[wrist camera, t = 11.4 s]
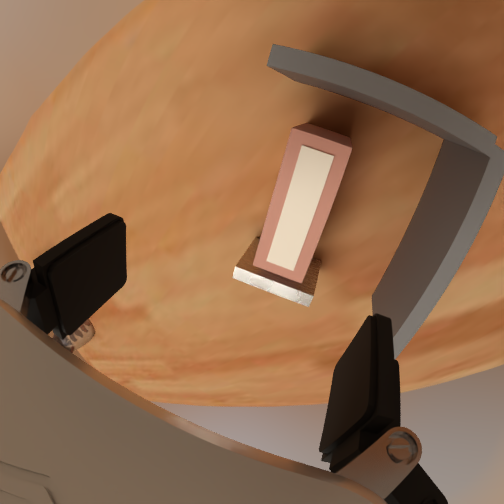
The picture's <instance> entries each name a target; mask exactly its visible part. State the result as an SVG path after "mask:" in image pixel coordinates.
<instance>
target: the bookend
mask: <svg viewBox="0 0 504 504" xmlns="http://www.w3.org/2000/svg"><path fill="white" fill-rule="evenodd" d="M259 241H260V238H257V237H256V238H255V239H254V241H253V242H252V243H251V245H250V246H249V248H248V249H247V251H246V252H245V253H244V255H243V256H242V258H241V259H240V260H239V262H238V263H237V265H236V266H235V270H234V274H233V278H234V279H237V280H240V281H242V282H245V283H247V284H250V285H252V286H255V287H257V288H260V289H263V290H265V291H268V292H270V293H273V294H276V295H278V296H281V297H284V298H286V299H289V300H291V301H294V302H297V303H299V304H302V305H305V306H307V307H309V305H310V303H311V301H312V299H313V296H314V292H315V288H316V283H317V278H318V274H319V269H320V264H321V261H319V260H316V259H314V258H312V259H311V262H310V264H309V267H308V269H307V272H306V274H305V276H304V279H303V281H302V283H299V282H296V281H294V280H291V279H288V278H286V277H283V276H280V275H278V274H275V273H272V272H270V271H267V270H264V269H262V268H259V267H256V266H254V265H253V262H254V259H255V255H256V252H257V248H258V245H259Z"/></svg>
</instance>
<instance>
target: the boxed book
mask: <svg viewBox="0 0 504 504" xmlns="http://www.w3.org/2000/svg"><path fill="white" fill-rule="evenodd" d="M351 151H352V144H351V139H350V137H347V136H344V135H342V134H339V133H336V132H333V131H330V130H327V129H324V128H321V127H318V126H315V125H312V124H309V123H305V124H302V125H299V126H296V127H293V128H292V129H291V132H290V136H289V140H288V143H287V147H286V150H285V154H284V157H283V161H282V164H281V168H280V171H279V175H278V178H277V182H276V185H275V189H274V192H273V196H272V199H271V203H270V206H269V210H268V213H267V217H266V220H265V224H264V227H263V231H262V234H261V238H260V241H259V245H258V248H257V252H256V255H255V259H254V262H253V265H254V266H256V267H259V268H262V269H264V270H267V271H270V272H272V273H275V274H278V275H280V276H283V277H286V278H288V279H291V280H294V281H296V282H299V283H302V281H303V279H304V276H305V274H306V272H307V269H308V267H309V264H310V262H311V259H312V257H313V254H314V252H315V249H316V247H317V244H318V242H319V239H320V236H321V234H322V231H323V229H324V226H325V223H326V221H327V218H328V216H329V213H330V210H331V208H332V205H333V202H334V199H335V197H336V194H337V191H338V188H339V186H340V183H341V180H342V177H343V174H344V171H345V169H346V166H347V163H348V160H349V157H350V154H351Z"/></svg>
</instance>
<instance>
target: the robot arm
mask: <svg viewBox="0 0 504 504" xmlns="http://www.w3.org/2000/svg"><path fill="white" fill-rule="evenodd" d="M33 263H34V268H33V269H31V267H30V265H29V264H28V263H27V262H25V261H21V260H17V261H12V262H9V263H7V264H6V265H4V266H3V267H2V268H1V269H0V504H448V502H447V500H446V498H445V496H444V495H443V494H442V492H441V491H440V490H439V489H438V487H437V486H436V485H435V484H434V483H433V481H432V480H431V479H430V477H429V476H428V475H427V473H426V472H425V471H424V470H423V468H422V467H421V466H420V465H419V463H418V462H419V460H420V458H421V454H422V446H421V443H420V440H419V438H418V437H417V435H416V434H415V433H414V432H412V431H411V430H409V429H407V428H405V427H400V376H399V364H398V361H397V360H395V359H394V344H393V331H392V321H391V318H389V317H386V316H383V315H380V314H378V313H375V314H374V315H373V316H370V315H369V316H368V317H367V318H366V320H365V321H364V323H363V325H362V326H361V328H360V329H359V331H358V333H357V334H356V336H355V337H354V339H353V340H352V342H351V343H350V345H349V346H348V348H347V349H346V351H345V352H344V354H343V355H342V357H341V358H340V360H339V361H338V363H337V364H336V366H335V369H334V373H333V379H332V385H331V391H330V397H329V402H328V409H327V413H326V418H325V423H324V429H323V433H322V438H321V442H320V447H319V451H320V452H322V453H323V455H322V461H324V462H329V463H330V468H329V469H330V470H331V472H329V471H326V470H322V469H319V468H316V467H313V466H309V465H306V464H303V463H299V462H296V461H292V460H289V459H286V458H283V457H279V456H277V455H274V454H271V453H268V452H265V451H262V450H259V449H256V448H253V447H251V446H248V445H245V444H242V443H240V442H237V441H235V440H232V439H229V438H227V437H224V436H222V435H219V434H217V433H215V432H212V431H210V430H207V429H205V428H203V427H201V426H198V425H196V424H194V423H192V422H190V421H187V420H185V419H183V418H181V417H179V416H177V415H175V414H173V413H171V412H169V411H167V410H165V409H163V408H161V407H159V406H157V405H155V404H153V403H151V402H150V401H148V400H146V399H144V398H142V397H141V396H139V395H137V394H135V393H133V392H132V391H130V390H128V389H127V388H125V387H123V386H121V385H120V384H118V383H116V382H115V381H113V380H112V379H110V378H108V377H107V376H105V375H104V374H102V373H101V372H99V371H97V370H96V369H94V368H93V367H91V366H90V365H88V364H87V363H85V362H84V361H82V360H81V359H80V358H78V357H77V356H75V355H74V354H72V353H71V352H70V351H68V350H67V349H66V348H64V347H63V346H61V345H60V344H59V343H57V342H56V341H55V340H53V339H52V338H51V337H50V336H49V333H50V332H51V331H52V330H53V332H54V334H55V335H57V336H58V337H59V338H61V339H62V340H63V339H64V338H65V337H67V336H68V335H72V334H73V333H74V332H75V331H76V330H77V329H78V328H79V327H80V326H81V325H82V324H83V323H84V322H85V321H86V320H87V319H88V318H90V317H91V316H92V315H93V314H94V313H95V312H96V311H97V310H98V309H99V308H100V307H101V306H102V305H103V304H104V303H105V302H106V301H108V300H109V299H110V298H111V297H112V296H113V295H114V294H115V293H116V292H117V291H118V290H119V289H121V288H122V287H123V286H124V284H125V283H126V280H127V270H126V224H125V223H124V220H123V218H121V217H119V216H117V215H114V214H112V213H109V214H106V215H105V216H103V217H101V218H100V219H98V220H96V221H94V222H93V223H91V224H89V225H88V226H86V227H84V228H83V229H81V230H79V231H78V232H76V233H75V234H73V235H71V236H70V237H68V238H67V239H65V240H63V241H62V242H60V243H59V244H57V245H56V246H54V247H53V248H51V249H49V250H48V251H46V252H45V253H43V254H42V255H40V256H39V257H38V258H36V259H35V260H33Z"/></svg>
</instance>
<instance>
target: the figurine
mask: <svg viewBox="0 0 504 504" xmlns="http://www.w3.org/2000/svg"><path fill="white" fill-rule="evenodd" d="M94 334H95V330H94V327H93V325H92V323H91V322H90V321H89V319H87V320H86V321H85V322H84V323H83V324H82V325H81V326H80V327H79V328H78V329H77V330H76V331H75V332H74V333H73V334H72V335H68V336H67V337H65V338H64V339H63V340H62V339H61V338H59V337H58V336H57V335H55V334H54V337H53V338H52V339H53V340H55V341H56V342H57V343H59V344H60V345H61V346H63V347H64V348H66V349H67V350H68V351H70V352H71V353H72V352H73V351H75V350H77V349H79V348H80V347H82V346H84V345H85V344H86V343H88V342H89V341H90V340H91V339H92V337H93V336H94Z"/></svg>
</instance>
